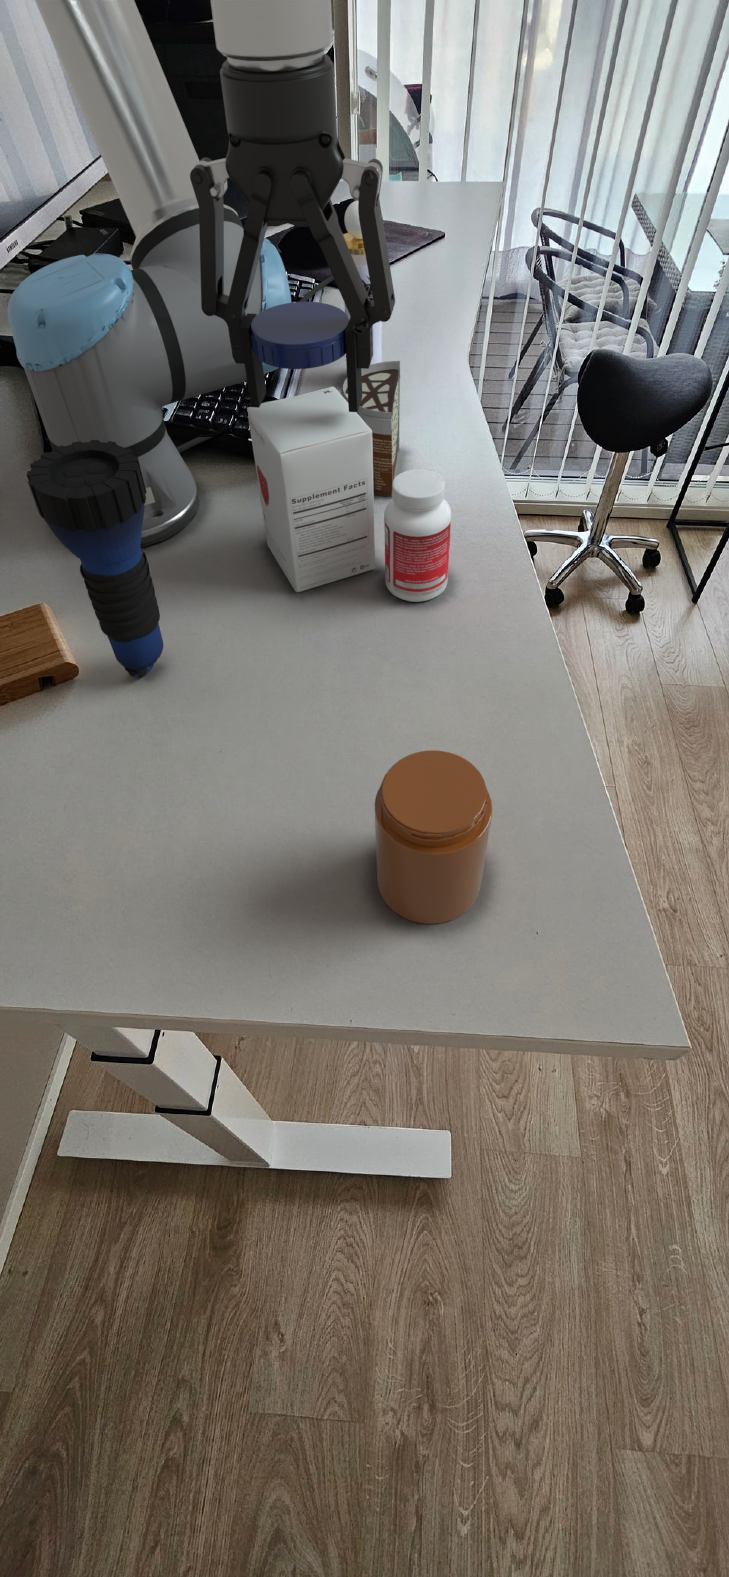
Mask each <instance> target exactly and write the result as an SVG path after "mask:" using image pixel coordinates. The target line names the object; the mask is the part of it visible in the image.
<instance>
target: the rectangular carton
mask: <svg viewBox="0 0 729 1577" xmlns="http://www.w3.org/2000/svg"><path fill="white" fill-rule="evenodd" d="M340 393H341V392H339V391H338V390H337V388H336V387H335V386H329V387H326V388H322V389H318V390H314V391H309V392H307V393H302V394H298V395H295V396H290V397H286V398H281V399H275V400H271V401H265V402H262V403H261V405H260V407H259V408H257V407H248V408H247V407H246V408H247V412H248V416H247V419H248V425H249V426H248V427H249V432H250V438H251V444H252V452H253V458H254V465H255V470H256V471H255V472H256V476H257V477H256V478H257V483H258V484H257V485H258V491H259V495H260V496H259V498H260V504H261V510H262V516H263V524H264V530H265V537H266V543H267V544H266V545H267V547H268V548H269V550H270V552H271V554H272V555H273V557H274V559H275V561H276V562H277V563H278V565H279V567H280V568H281V570H282V572H283V573H284V575H285V577H286V578H287V580H288V582H289V583H290V585H291V587H292V588H293V590H294V591H295V593H301V592H304V591H308V590H310V589H313V588H317V587H320V586H324V585H327V584H330V583H333V582H336V581H337V582H338V581H340V580H344V579H346V578H349V577H350V578H351V577H353V576H356V575H360V574H363V573H367V572H369V571H373V570H375V569H376V544H375V539H376V538H375V499H374V498H375V496H374V495H375V494H374V492H373V446H372V430H371V429H370V428H369V426H368V425H367V424H366V423H365V422H364V421H363V420H362V418H361V417H360V416H359V415H358V414H357V413H356V412H349V406H348V402H347V401H346V400H345V399H344V398H343V397H342V395H341V394H340Z"/></svg>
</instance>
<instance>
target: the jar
mask: <svg viewBox="0 0 729 1577" xmlns="http://www.w3.org/2000/svg"><path fill="white" fill-rule="evenodd" d="M374 798H375V799H374V822H375V823H374V828H375V829H374V830H375V857H376V858H375V859H376V883H377V887H378V891H379V894H380V896H381V898H382V899H383V901H384V902H385V904H386V906H388V907H389V908H390V909H391V910H392V911H393V912H394V913H396V915H399V916H400V917H402V918H403V919H406V920H408V921H410V922H415V923H418V924H424V925H425V924H426V925H436V924H443V923H447V922H450V921H452V920H455V919H457V918H459V917H461V916H462V915H464V914H465V913H466V912H467V911H469V909H470V908H472V906H473V905H474V903H476V901H477V899H478V897H479V895H480V891H481V886H482V881H483V874H484V867H485V863H486V855H487V848H488V842H489V836H490V831H491V830H490V829H491V823H492V816H493V803H492V802H493V801H492V798H491V796H490V793H489V791H488V787H487V785H486V782H485V779H484V777H483V775H482V774H481V772H480V770H479V769H478V768H477V767H476V766H475V765H474V764H473V763H472V762H470V761H468V760H467V759H465V758H464V757H462V756H460V755H458V754H455V753H453V752H448V751H444V750H422V751H417V752H414V753H410V754H408V755H406V756H404V757H402V758H401V759H399V760H398V761H397V762H395V763H394V764H393V765H392V766H391V767H390V768H389V770H387V772H386V773H385V774H384V776H383V779H382V781H381V784H380V786H379V788H378V790H377V792H376V795H375V797H374Z"/></svg>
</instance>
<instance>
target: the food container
mask: <svg viewBox="0 0 729 1577" xmlns="http://www.w3.org/2000/svg"><path fill="white" fill-rule="evenodd" d="M361 371H362V400H361V403H360V406H359V409H358V412H356V413H357V414H358V415H359V416H360V417H361V418H362V420H363V421H364V422H365V423H366V424H367V425H368V426H369V428H370V429H371V430H372V446H373V492H374V495H376V496H381V497H391V498H392V483H393V480H394V478H395V477H396V476H397V470H398V469H397V468H398V463H399V457H400V412H401V411H400V403H401V402H400V399H401V360H389V361H387V360H386V361H382V362H380V363H375V364H371V365H370V366H369V369H364V368H361ZM339 393H340V394H341V395H342V397H343V398H344V399H345V400H346V401H347V402H348V386H347V378H345V379H344V382H343V384H342V387H341V389H340V392H339Z"/></svg>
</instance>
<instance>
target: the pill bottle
mask: <svg viewBox="0 0 729 1577" xmlns="http://www.w3.org/2000/svg"><path fill="white" fill-rule="evenodd" d="M445 496H446V481H445V478H444V477H443V476H441V474H439V473H437V472H435V471H432V470H429V469H422V468H418V469H417V468H415V469H409V470H405V471H403V472H400V473H399V474H396V477H395V478H394V480H393V483H392V497H391V499H390V500H389V501H388V502H387V505H386V506H385V508H384V515H383V516H384V517H383V521H384V522H383V525H384V573H385V574H384V576H385V578H384V579H385V585H386V588H387V590H388V591H389V593H391V594H392V595H393V596H394V597H396V598H398V599H400V600H403V601H406V602H412V603H413V602H414V603H417V602H419V603H420V602H426V601H430V600H433V599H435V598H436V597H439V596H440V595H441V594H442V593H443V592H444V591H445V590H446V588H447V586H448V580H449V567H450V548H451V532H452V531H451V530H452V509H451V506H450V504H449V502H448V501H447V500H446V499H445Z"/></svg>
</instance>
